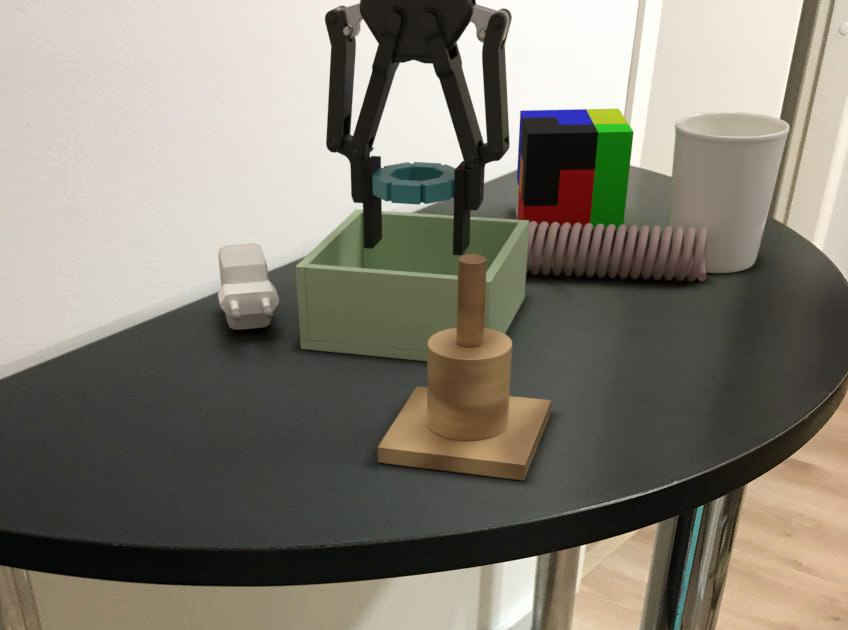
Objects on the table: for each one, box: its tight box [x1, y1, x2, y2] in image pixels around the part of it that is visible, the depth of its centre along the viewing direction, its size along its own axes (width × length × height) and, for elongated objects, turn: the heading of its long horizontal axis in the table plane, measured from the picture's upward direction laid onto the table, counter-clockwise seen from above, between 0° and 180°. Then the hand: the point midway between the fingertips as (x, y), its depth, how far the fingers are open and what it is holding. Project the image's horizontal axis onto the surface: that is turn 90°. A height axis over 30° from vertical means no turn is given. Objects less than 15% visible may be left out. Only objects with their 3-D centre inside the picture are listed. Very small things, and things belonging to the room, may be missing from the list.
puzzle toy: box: [514, 108, 634, 234], centre depth 112 cm, size 10×10×10 cm
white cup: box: [667, 111, 791, 274], centre depth 102 cm, size 10×10×12 cm
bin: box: [295, 208, 529, 362], centre depth 93 cm, size 16×16×7 cm
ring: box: [372, 161, 457, 206], centre depth 88 cm, size 7×7×1 cm
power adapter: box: [217, 243, 280, 331], centre depth 92 cm, size 11×5×6 cm, turn 10°
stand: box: [377, 254, 552, 481], centre depth 73 cm, size 10×10×12 cm
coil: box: [526, 221, 708, 282], centre depth 101 cm, size 5×5×18 cm
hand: (416, 246), depth 91 cm, fingers closed on ring, 7 cm apart
